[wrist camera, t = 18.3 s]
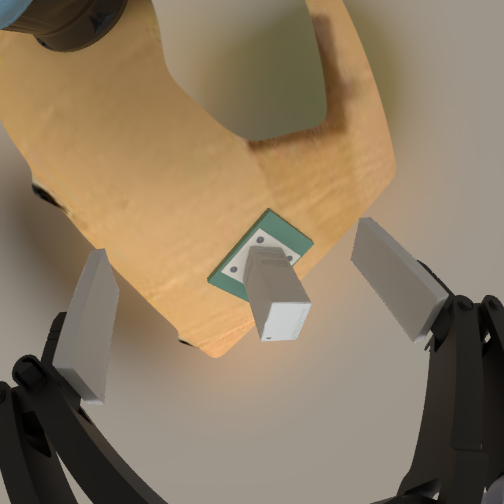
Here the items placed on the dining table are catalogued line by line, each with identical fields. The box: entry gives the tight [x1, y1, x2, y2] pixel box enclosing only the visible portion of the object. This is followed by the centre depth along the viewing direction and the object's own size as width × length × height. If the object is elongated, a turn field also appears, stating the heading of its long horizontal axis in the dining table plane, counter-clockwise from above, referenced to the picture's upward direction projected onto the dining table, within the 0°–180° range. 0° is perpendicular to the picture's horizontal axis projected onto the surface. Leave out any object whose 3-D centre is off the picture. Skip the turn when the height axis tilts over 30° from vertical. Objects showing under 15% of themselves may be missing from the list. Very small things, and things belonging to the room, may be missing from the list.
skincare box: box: [243, 246, 312, 341], centre depth 47 cm, size 8×7×16 cm
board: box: [207, 208, 314, 302], centre depth 54 cm, size 18×12×2 cm, turn 140°
